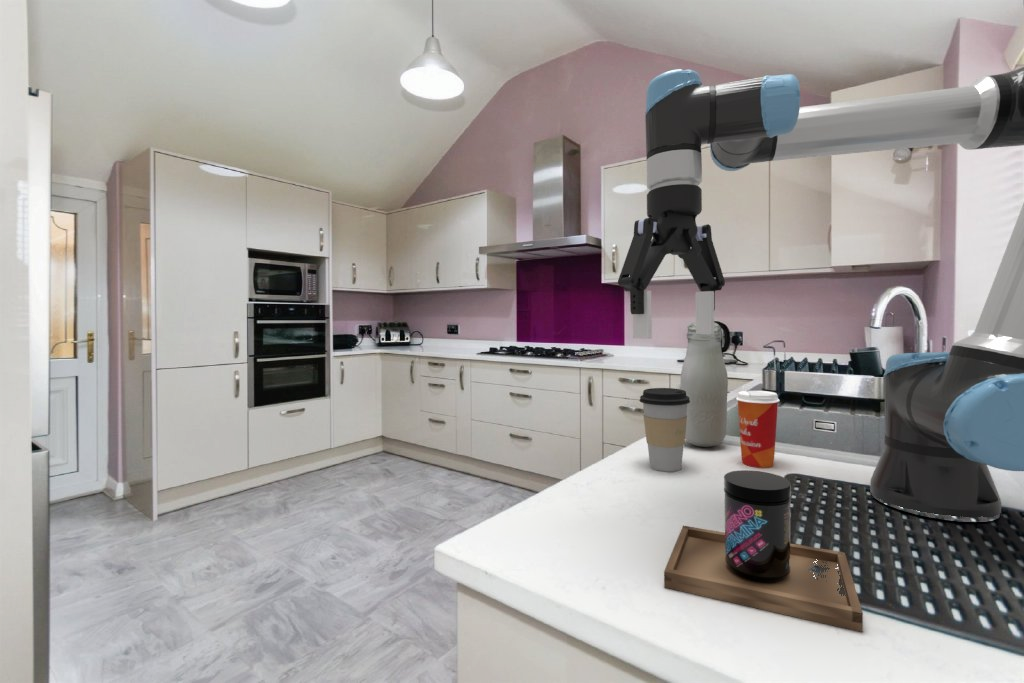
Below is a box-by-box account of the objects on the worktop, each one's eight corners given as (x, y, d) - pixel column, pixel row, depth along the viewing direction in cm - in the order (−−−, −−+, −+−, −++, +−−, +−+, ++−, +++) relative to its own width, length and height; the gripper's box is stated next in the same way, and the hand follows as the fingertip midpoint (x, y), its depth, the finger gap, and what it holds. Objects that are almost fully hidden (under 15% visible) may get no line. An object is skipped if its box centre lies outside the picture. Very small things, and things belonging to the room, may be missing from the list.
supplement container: (720, 553, 60) (719, 468, 60) (781, 558, 58) (781, 471, 58) (729, 582, 54) (729, 487, 53) (799, 589, 52) (799, 491, 51)
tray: (844, 567, 58) (844, 552, 57) (862, 632, 46) (862, 613, 46) (683, 538, 66) (682, 525, 66) (664, 587, 54) (664, 571, 54)
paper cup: (729, 458, 101) (729, 390, 100) (767, 457, 101) (767, 389, 100) (746, 470, 93) (746, 396, 93) (788, 469, 93) (788, 395, 92)
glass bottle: (681, 450, 108) (680, 322, 106) (680, 438, 117) (679, 321, 116) (730, 453, 105) (730, 321, 103) (725, 441, 114) (725, 320, 113)
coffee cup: (694, 475, 91) (693, 394, 90) (641, 473, 93) (640, 394, 92) (686, 460, 100) (686, 387, 99) (639, 459, 102) (638, 387, 101)
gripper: (706, 202, 81) (707, 332, 82) (590, 184, 68) (593, 339, 69) (749, 192, 74) (749, 332, 76) (630, 170, 61) (633, 341, 62)
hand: (675, 336), depth 72 cm, fingers open, 13 cm apart
